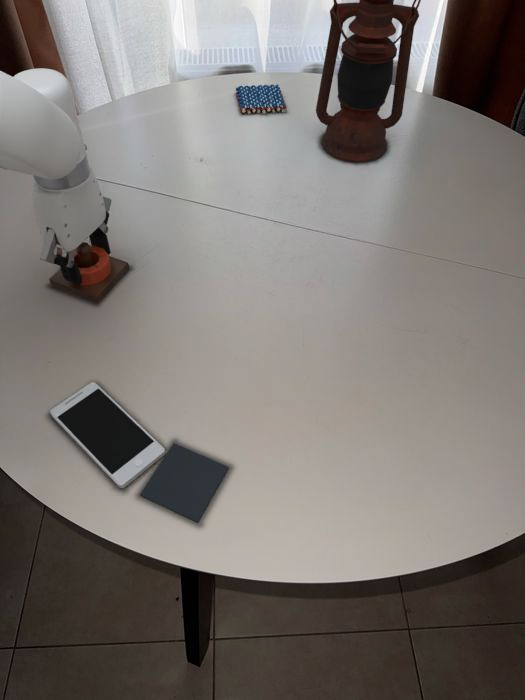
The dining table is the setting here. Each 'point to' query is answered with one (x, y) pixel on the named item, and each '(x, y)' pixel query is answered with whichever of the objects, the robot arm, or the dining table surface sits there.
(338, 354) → the dining table surface
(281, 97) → the blue beaded mat
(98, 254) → the ring
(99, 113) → the dining table surface
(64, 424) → the smartphone
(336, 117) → the lantern
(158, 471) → the coaster
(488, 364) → the dining table surface
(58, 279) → the ring holder
